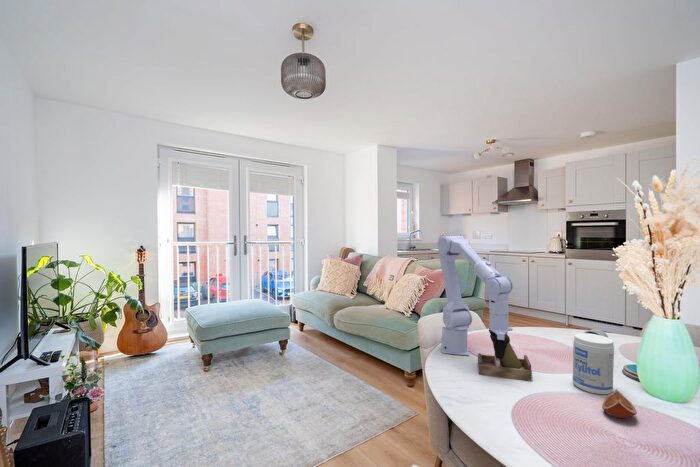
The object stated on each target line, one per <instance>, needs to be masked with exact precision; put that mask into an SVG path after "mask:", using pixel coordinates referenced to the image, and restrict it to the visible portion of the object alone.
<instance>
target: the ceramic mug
mask: <svg viewBox="0 0 700 467" xmlns="http://www.w3.org/2000/svg"><path fill="white" fill-rule="evenodd" d="M583 333H589V334H596V335H601V336H604V337H607V338H609V336H608V334H607V333H606V332H605V331H604V330H602V329H598V328H591V329H590V330H585V331H584V332H583Z"/></svg>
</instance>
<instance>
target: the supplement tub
mask: <svg viewBox="0 0 700 467" xmlns="http://www.w3.org/2000/svg"><path fill="white" fill-rule="evenodd" d="M572 346H573V347H572V348H573V352H572V354H573V355H572V383H573V384H574V386H576V387H577V388H578V389H581V391H584V392H588V393H591V394H596V395H609V394H611V393H612V392H614V391H613V390H614V367H615V366H614V360H615V358H614V356H615V345H614V340H613V339H611V338H609V337H608V338H607V337H604V336H601V335H596V334H589V333H584V332H579V333H575V334H574V338H573V345H572Z"/></svg>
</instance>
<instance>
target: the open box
mask: <svg viewBox="0 0 700 467" xmlns="http://www.w3.org/2000/svg"><path fill="white" fill-rule="evenodd" d="M518 359H519V361H520V363H521V364H522V367H521V368H520V369H515V368H507V367H502V364H501V360H500V358H499V360H500V367H498V366H495V355H490V354H482V353H480V352H478V353H477V365H478V366H477V368H478V375H481V376H488V377H489V376H490V377H495V378H496V377H497V378H504V379H512V380H517V381H518V380H520V381H526V380H527V381H528V382H532V381H533V370H532V364H531V362H530V360H529V358H528V355H527V354H524V355H523V358H518Z"/></svg>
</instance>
